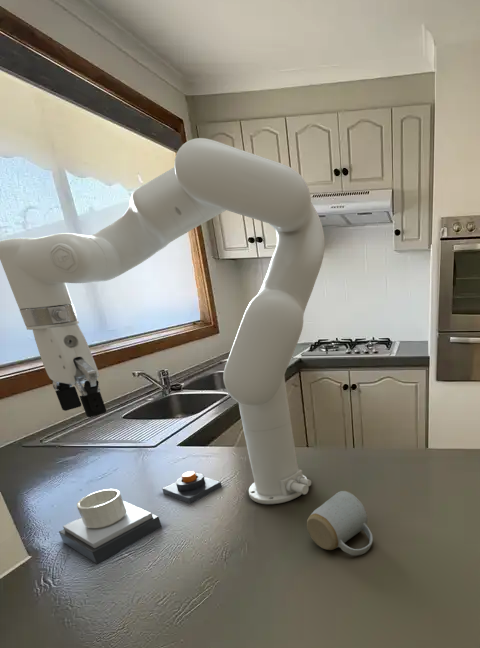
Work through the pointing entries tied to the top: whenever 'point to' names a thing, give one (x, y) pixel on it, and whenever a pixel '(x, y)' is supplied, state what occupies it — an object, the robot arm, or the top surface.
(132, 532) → the scale
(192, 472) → the button
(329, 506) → the ceramic mug
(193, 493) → the pad
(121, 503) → the white cup
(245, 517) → the top surface
